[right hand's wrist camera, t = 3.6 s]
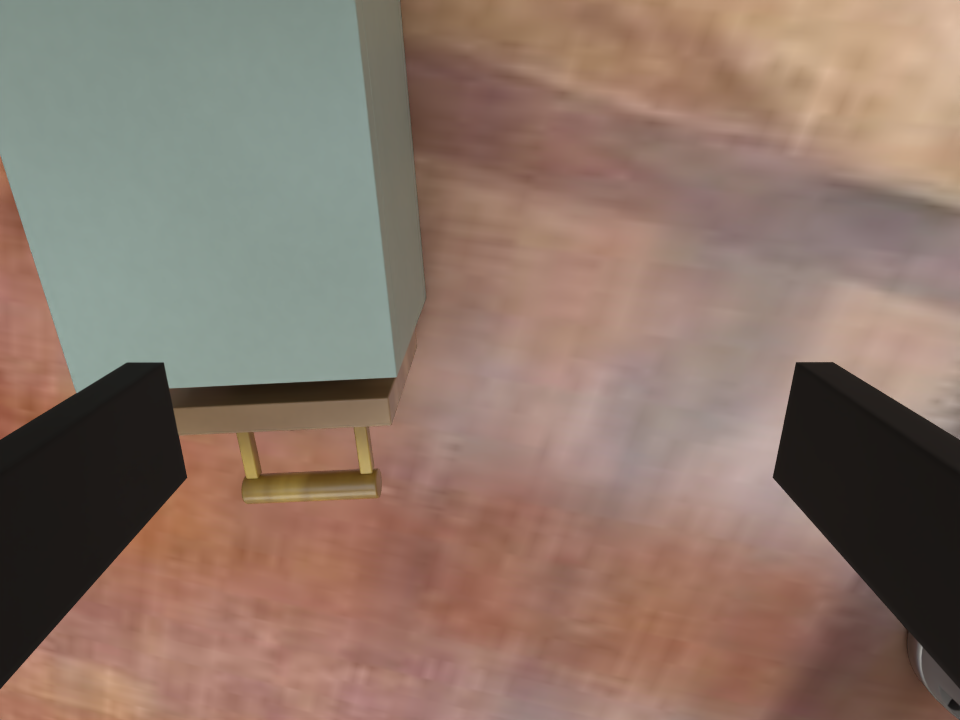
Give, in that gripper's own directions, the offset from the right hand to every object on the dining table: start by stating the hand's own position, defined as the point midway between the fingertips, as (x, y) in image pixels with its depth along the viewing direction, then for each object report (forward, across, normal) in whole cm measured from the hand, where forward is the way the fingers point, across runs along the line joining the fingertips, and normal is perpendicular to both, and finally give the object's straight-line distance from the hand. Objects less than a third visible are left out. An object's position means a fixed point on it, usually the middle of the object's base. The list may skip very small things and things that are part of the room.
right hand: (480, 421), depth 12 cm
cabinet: (+20, +9, -7) cm, 23 cm away
